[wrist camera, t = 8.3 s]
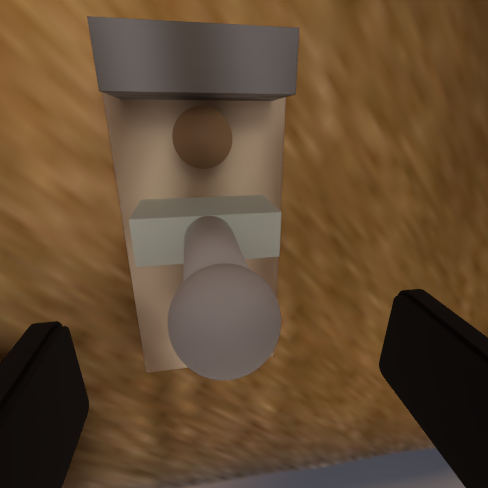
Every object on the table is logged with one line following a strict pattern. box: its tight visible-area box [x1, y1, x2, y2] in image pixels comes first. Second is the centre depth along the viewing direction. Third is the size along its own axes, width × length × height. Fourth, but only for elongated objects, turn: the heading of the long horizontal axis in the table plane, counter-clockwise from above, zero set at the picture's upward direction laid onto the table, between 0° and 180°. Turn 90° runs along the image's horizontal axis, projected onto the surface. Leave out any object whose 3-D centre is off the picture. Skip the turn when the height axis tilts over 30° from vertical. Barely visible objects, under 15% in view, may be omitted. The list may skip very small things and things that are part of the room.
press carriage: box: [129, 195, 281, 380], centre depth 16 cm, size 9×4×15 cm, turn 90°
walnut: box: [172, 106, 232, 169], centre depth 19 cm, size 4×4×3 cm
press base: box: [87, 16, 299, 373], centre depth 22 cm, size 12×26×7 cm, turn 0°
